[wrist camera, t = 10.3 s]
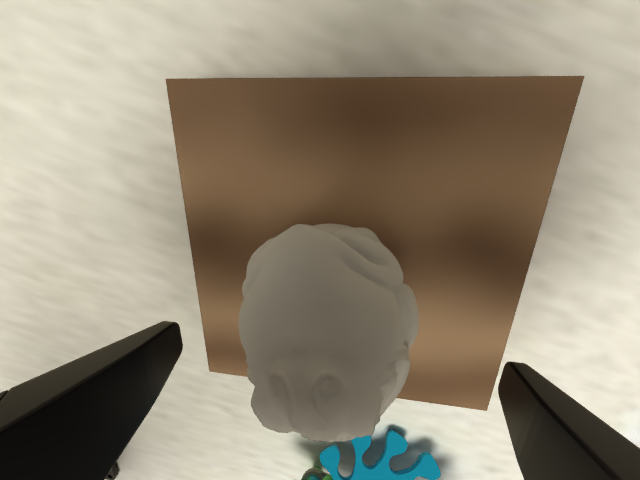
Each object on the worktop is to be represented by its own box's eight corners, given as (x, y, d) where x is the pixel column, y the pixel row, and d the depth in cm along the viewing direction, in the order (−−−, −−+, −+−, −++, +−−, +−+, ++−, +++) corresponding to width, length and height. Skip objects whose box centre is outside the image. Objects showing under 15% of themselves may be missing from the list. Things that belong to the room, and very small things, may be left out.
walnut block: (466, 360, 18) (486, 410, 15) (235, 332, 21) (209, 371, 17) (531, 88, 13) (584, 76, 10) (209, 88, 15) (165, 78, 12)
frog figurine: (295, 332, 16) (232, 480, 9) (259, 201, 13) (140, 280, 7) (418, 328, 14) (443, 503, 8) (401, 178, 12) (417, 253, 5)
